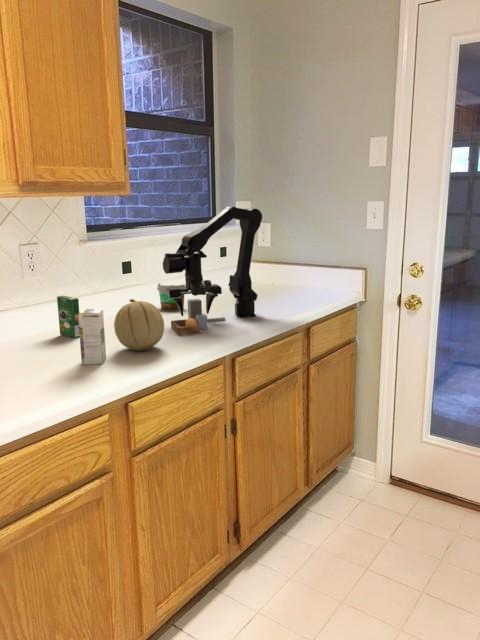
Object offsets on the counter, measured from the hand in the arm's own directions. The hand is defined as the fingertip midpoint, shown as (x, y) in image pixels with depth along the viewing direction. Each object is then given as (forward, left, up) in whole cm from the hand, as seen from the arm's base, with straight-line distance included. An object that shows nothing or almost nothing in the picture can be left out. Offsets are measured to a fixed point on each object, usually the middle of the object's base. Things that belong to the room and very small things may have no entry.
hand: (195, 314), depth 189 cm
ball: (+4, +9, -1) cm, 10 cm away
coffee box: (+43, +1, -3) cm, 43 cm away
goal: (+6, +9, -3) cm, 11 cm away
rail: (-3, 0, -3) cm, 5 cm away
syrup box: (+38, +33, -3) cm, 50 cm away
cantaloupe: (+24, +26, -3) cm, 35 cm away
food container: (+4, -27, -3) cm, 27 cm away
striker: (0, +4, -3) cm, 5 cm away
